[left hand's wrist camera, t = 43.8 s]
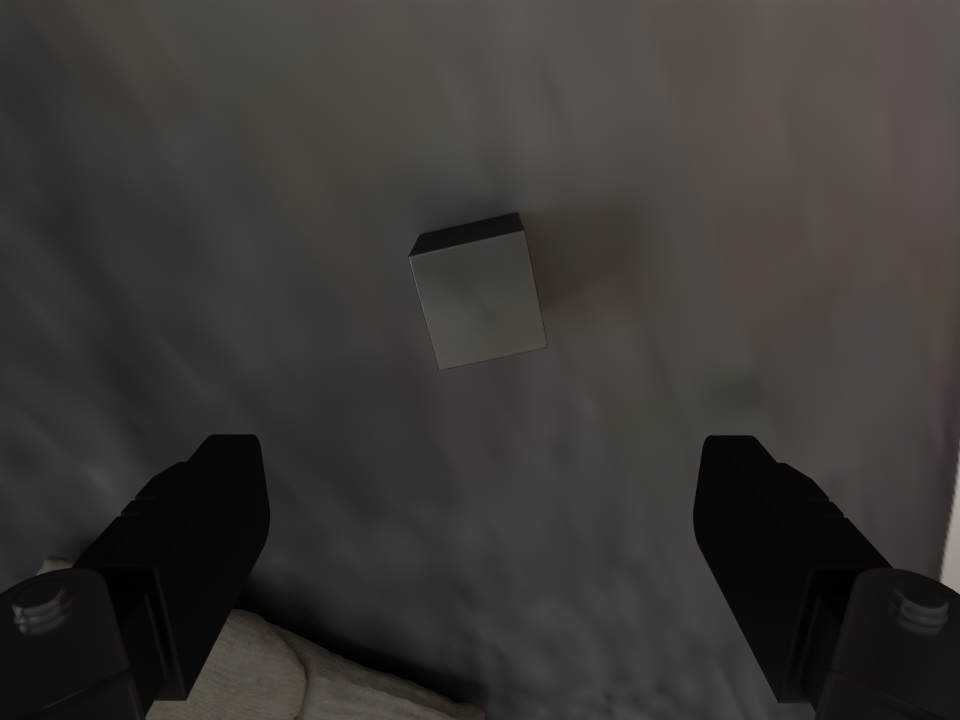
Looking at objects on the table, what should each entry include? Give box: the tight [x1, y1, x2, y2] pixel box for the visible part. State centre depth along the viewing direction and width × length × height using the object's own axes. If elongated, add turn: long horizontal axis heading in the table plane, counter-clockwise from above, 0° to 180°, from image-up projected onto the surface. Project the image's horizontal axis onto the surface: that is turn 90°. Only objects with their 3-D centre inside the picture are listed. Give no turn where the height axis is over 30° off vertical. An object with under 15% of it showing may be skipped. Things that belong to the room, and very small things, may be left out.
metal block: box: [408, 213, 548, 370], centre depth 24 cm, size 4×4×4 cm
